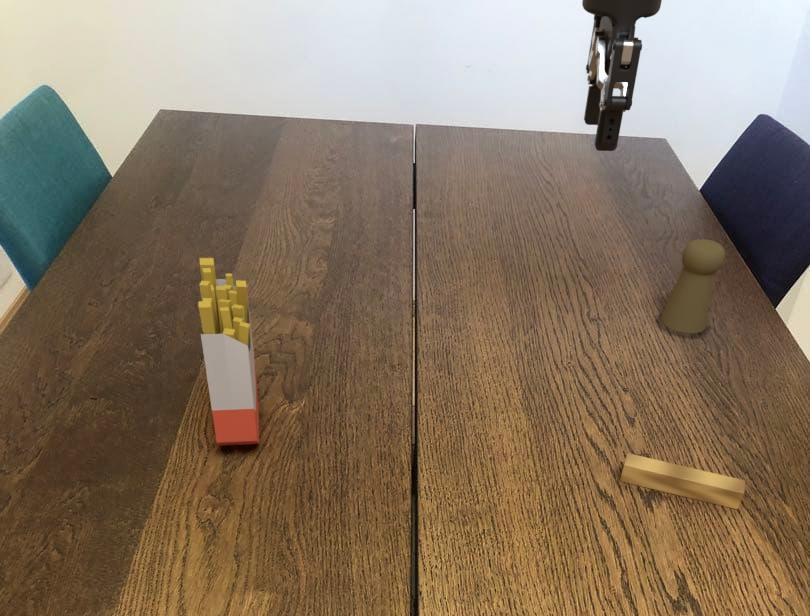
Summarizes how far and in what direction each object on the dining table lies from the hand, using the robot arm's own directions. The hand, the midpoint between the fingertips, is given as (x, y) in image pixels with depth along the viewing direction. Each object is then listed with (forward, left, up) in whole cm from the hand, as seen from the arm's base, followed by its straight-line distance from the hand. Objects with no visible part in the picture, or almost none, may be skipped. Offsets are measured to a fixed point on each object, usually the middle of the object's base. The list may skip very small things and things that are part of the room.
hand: (599, 136), depth 88 cm
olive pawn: (-18, -6, -25) cm, 32 cm away
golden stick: (-7, +29, -25) cm, 39 cm away
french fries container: (+39, +19, -25) cm, 50 cm away
